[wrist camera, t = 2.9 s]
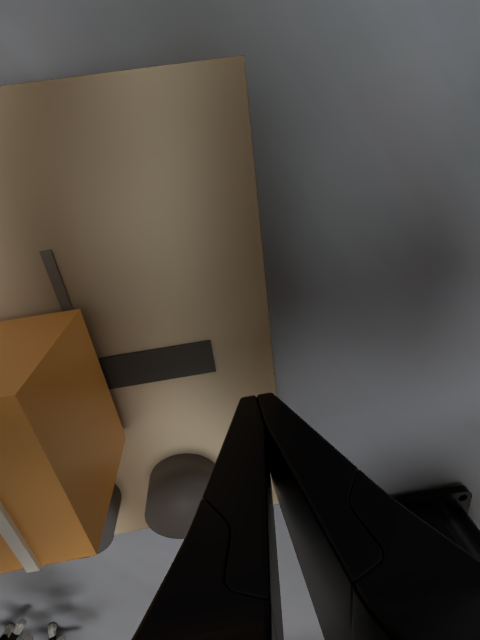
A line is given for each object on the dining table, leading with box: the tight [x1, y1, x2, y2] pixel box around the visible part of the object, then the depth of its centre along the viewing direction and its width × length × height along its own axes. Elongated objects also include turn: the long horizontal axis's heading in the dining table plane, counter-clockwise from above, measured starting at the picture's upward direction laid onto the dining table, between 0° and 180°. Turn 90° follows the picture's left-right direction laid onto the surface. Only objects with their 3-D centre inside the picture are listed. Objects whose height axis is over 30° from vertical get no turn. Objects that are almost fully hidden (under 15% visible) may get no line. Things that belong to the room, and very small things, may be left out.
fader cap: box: [0, 309, 126, 573], centre depth 9 cm, size 3×5×4 cm, turn 7°
